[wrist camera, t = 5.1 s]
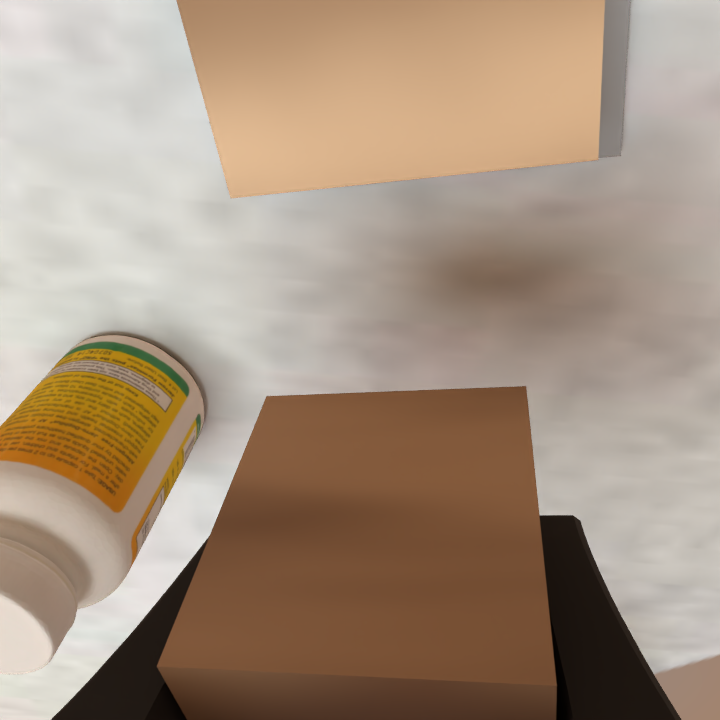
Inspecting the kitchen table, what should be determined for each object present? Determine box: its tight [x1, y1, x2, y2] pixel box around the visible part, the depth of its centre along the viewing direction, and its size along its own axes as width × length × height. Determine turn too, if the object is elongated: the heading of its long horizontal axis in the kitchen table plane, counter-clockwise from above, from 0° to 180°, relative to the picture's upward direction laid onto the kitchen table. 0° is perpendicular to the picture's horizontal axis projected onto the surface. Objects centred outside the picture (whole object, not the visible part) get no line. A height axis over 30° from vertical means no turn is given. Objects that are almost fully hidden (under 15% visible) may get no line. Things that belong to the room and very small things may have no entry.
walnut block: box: [157, 386, 557, 720], centre depth 10 cm, size 4×4×5 cm
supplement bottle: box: [0, 335, 204, 674], centre depth 20 cm, size 5×5×10 cm
